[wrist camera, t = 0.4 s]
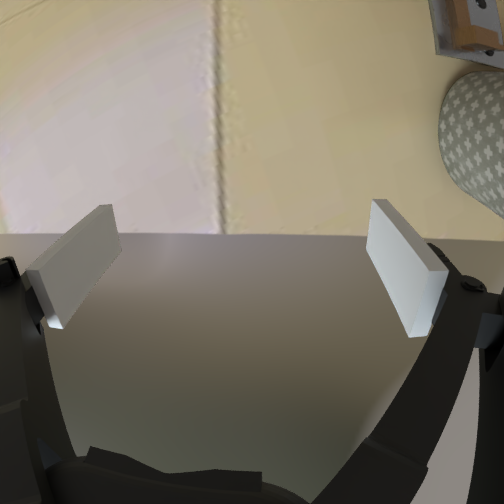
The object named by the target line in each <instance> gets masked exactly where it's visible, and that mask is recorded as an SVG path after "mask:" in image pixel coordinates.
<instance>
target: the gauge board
mask: <svg viewBox="0 0 504 504" xmlns="http://www.w3.org/2000/svg"><path fill="white" fill-rule="evenodd" d="M428 3H429V9H430V14H431V20H432V27H433V34H434V41H435V50H436V55H441V56H447V57H452V58H457V59H462V60H467V61H471V62H476V63H480V64H484V65H488V66H492V67H495V68H499V69H504V45H503V39H502V32H501V26H500V20H499V15H498V10H497V5H496V0H428Z"/></svg>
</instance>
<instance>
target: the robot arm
mask: <svg viewBox="0 0 504 504" xmlns="http://www.w3.org/2000/svg"><path fill="white" fill-rule="evenodd" d="M366 250H367V252H368V254H369V256H370V258H371V260H372V262H373V264H374V265H375V267H376V269H377V271H378V273H379V275H380V277H381V279H382V281H383V283H384V285H385V287H386V289H387V291H388V293H389V295H390V297H391V300H392V302H393V304H394V306H395V308H396V310H397V312H398V314H399V316H400V319H401V321H402V323H403V325H404V327H405V330H406V332H407V334H408V337H409V338H410V337H419V336H427V334H428V332H429V329H430V326H431V324H433V325H434V327H433V329H432V331H431V333H430V335H429V337H428V339H427V341H426V343H425V345H424V347H423V349H422V351H421V352H420V354H419V356H418V359H417V360H416V362H415V364H414V366H413V367H412V369H411V371H410V373H409V375H408V376H407V378H406V380H405V381H404V383H403V385H402V387H401V388H400V390H399V392H398V393H397V395H396V396H395V398H394V399H393V401H392V403H391V405H390V406H389V407H388V409H387V410H386V412H385V414H384V415H383V417H382V418H381V420H380V421H379V423H378V424H377V425H376V427H375V428H374V430H373V431H372V433H371V434H370V435H369V436H368V437H367V438H365V439H364V441H363V442H362V443H361V444H360V446H359V447H358V448H357V449H356V451H355V452H354V453H353V455H352V456H351V457H350V459H349V460H348V461H347V462H346V464H345V465H344V466H343V467H342V469H341V470H340V471H339V472H338V474H337V475H336V476H335V477H334V478H333V479H332V480H331V482H330V483H329V484H328V485H327V486H326V487H325V489H324V490H323V491H322V492H321V493H320V494H319V495H318V496H317V497H316V499H315V500H314V501H313V502H312V503H311V504H410V503H411V501H412V500H413V498H414V496H415V494H416V493H417V491H418V490H419V488H420V486H421V484H422V483H423V480H424V479H425V476H426V474H427V472H428V467H427V463H428V461H429V459H430V457H431V455H432V453H433V451H434V449H435V447H436V445H437V443H438V441H439V438H440V436H441V434H442V432H443V430H444V427H445V425H446V423H447V420H448V418H449V416H450V414H451V411H452V409H453V406H454V404H455V401H456V399H457V396H458V393H459V390H460V388H461V385H462V382H463V380H464V376H465V374H466V371H467V368H468V364H469V361H470V358H471V355H472V351H473V348H474V347H475V348H479V370H480V371H479V372H480V390H479V416H478V430H477V442H476V451H475V459H474V465H473V472H472V478H471V483H470V489H469V494H468V499H467V503H466V504H504V288H503V291H502V293H501V295H500V294H494V293H488V292H487V289H486V287H485V285H484V284H483V283H482V282H481V281H479V280H478V279H476V278H474V277H470V276H467V275H461V273H460V272H459V271H458V270H457V268H456V267H455V266H454V265H453V264H452V263H451V262H450V260H449V259H448V258H447V257H445V254H444V253H443V252H442V251H441V250H440V249H439V248H438V247H436V246H435V245H433V244H431V243H426V242H425V241H424V240H423V239H422V238H421V236H420V235H419V234H418V233H417V232H416V231H415V230H414V228H413V227H412V226H411V225H410V224H409V223H408V222H407V221H406V220H405V219H404V217H403V216H402V215H401V214H400V213H399V212H398V211H397V210H396V209H395V208H394V207H393V206H392V205H391V204H390V202H389V201H388V200H387V199H372V206H371V215H370V223H369V231H368V239H367V247H366ZM121 251H122V249H121V245H120V241H119V236H118V232H117V227H116V222H115V217H114V213H113V208H112V204H108V205H99V206H98V207H97V208H96V209H94V210H93V211H92V212H91V213H89V214H88V215H87V216H86V217H84V218H83V219H82V220H81V221H80V222H78V223H77V224H76V225H75V226H74V227H72V228H71V229H70V230H69V231H68V232H66V233H65V234H64V235H63V236H62V237H61V238H60V239H58V240H57V241H56V242H55V243H54V244H53V245H52V246H51V247H50V248H49V249H47V250H46V251H45V252H44V253H43V254H42V255H41V256H40V257H39V258H37V259H36V260H35V261H34V262H33V263H32V264H31V265H30V266H29V267H28V268H27V269H26V271H25V272H24V273H23V275H21V276H20V274H19V271H18V269H17V266H16V263H15V261H14V258H13V257H5V258H2V259H0V504H309V503H308V502H307V501H306V500H304V499H303V498H301V497H300V496H298V495H296V494H295V493H293V492H290V491H288V490H287V489H284V488H282V487H279V486H276V485H273V484H269V483H266V482H262V472H251V471H250V472H249V471H231V470H218V469H214V470H205V471H196V472H184V473H173V474H172V473H171V474H169V473H163V472H161V471H158V470H156V469H154V468H152V467H149V466H147V465H145V464H143V463H141V462H139V461H137V460H135V459H132V458H130V457H128V456H126V455H122V454H118V453H114V452H110V451H106V450H103V449H99V448H95V447H92V446H90V448H89V451H88V453H87V456H80V457H77V456H76V454H75V452H74V450H73V447H72V444H71V441H70V438H69V435H68V432H67V429H66V426H65V422H64V419H63V416H62V412H61V409H60V405H59V401H58V398H57V394H56V390H55V386H54V381H53V377H52V372H51V368H50V363H49V358H48V352H47V347H46V342H45V335H44V329H43V327H42V325H41V322H40V320H41V319H42V318H43V317H44V316H45V318H46V320H47V322H48V324H49V326H50V327H53V328H60V329H63V328H64V327H65V326H66V324H67V323H68V321H69V320H70V318H71V317H72V316H73V314H74V313H75V311H76V310H77V309H78V307H79V306H80V305H81V303H82V302H83V300H84V299H85V298H86V296H87V295H88V294H89V292H90V291H91V290H92V288H93V287H94V286H95V284H96V283H97V282H98V280H99V279H100V278H101V276H102V275H103V274H104V273H105V271H106V270H107V269H108V268H109V266H110V265H111V264H112V263H113V261H114V260H115V259H116V258H117V256H118V255H119V254H120V253H121Z"/></svg>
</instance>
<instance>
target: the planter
mask: <svg viewBox="0 0 504 504" xmlns="http://www.w3.org/2000/svg"><path fill="white" fill-rule="evenodd" d="M438 138H439V147H440V152H441V156H442V159H443V162H444V165H445V167H446V169H447V172H448V173H449V175H450V177H451V178H452V180H453V181H454V182H455V183H456V185H457V186H458V187H459V188H460V189H462V190H463V191H464V192H466V193H467V194H469V195H470V196H472V197H473V198H475V199H476V200H478V201H479V202H480V203H482V204H483V205H485V206H486V207H488V208H489V209H490V210H492V211H493V212H495V213H496V214H497V215H499V216H500V217H501V218H503V219H504V72H490V71H477V72H472V73H469V74H467V75H465V76H463V77H461V78H460V79H459V80H458V81H456V82H455V83H454V85H453V86H452V87H451V88H450V90H449V91H448V93H447V95H446V97H445V99H444V102H443V104H442V108H441V112H440V116H439V125H438Z"/></svg>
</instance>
